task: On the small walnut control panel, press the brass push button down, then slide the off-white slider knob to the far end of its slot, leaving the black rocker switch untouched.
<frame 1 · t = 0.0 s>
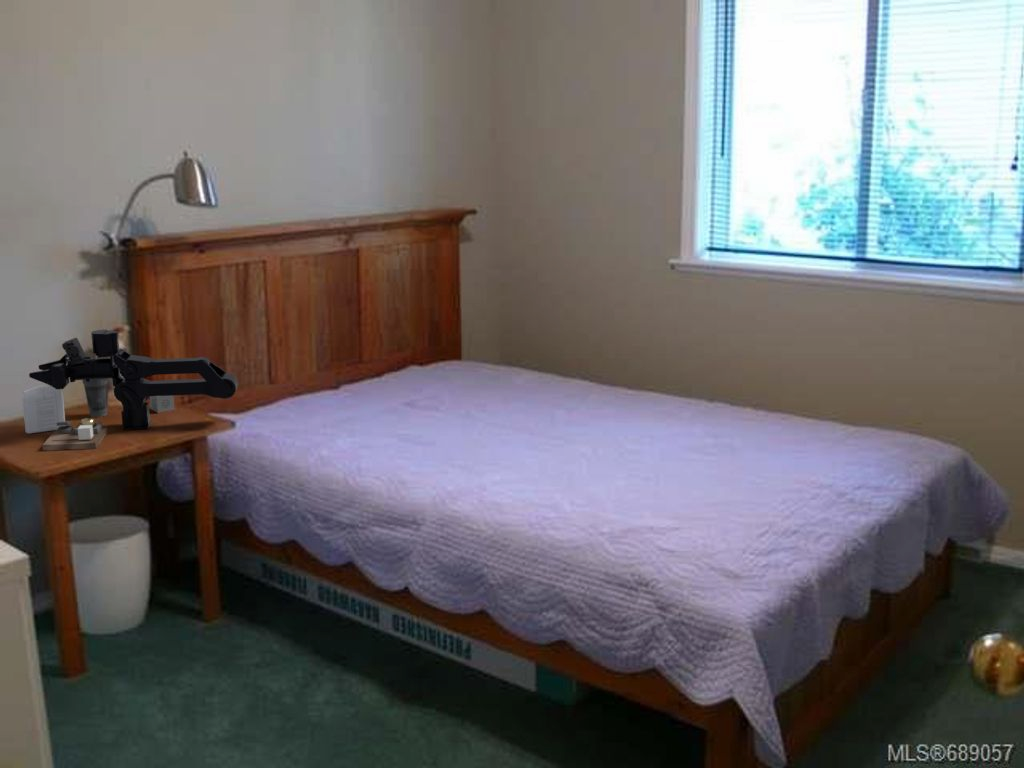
hand: (34, 371, 295), 17 cm above the nightstand, tool horizontal, fingers open, 9 cm apart
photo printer: (46, 430, 299), on the nightstand
brass button: (88, 423, 292), point 4 cm above the nightstand, slide at 0.0 cm
rocker switch: (64, 423, 292), point 4 cm above the nightstand, hinge at 12.0°
dice cube: (162, 411, 319), on the nightstand
control panel: (75, 441, 289), on the nightstand
beverage cup: (98, 416, 313), on the nightstand
slider knob: (85, 432, 285), point 3 cm above the nightstand, slide at 0.0 cm
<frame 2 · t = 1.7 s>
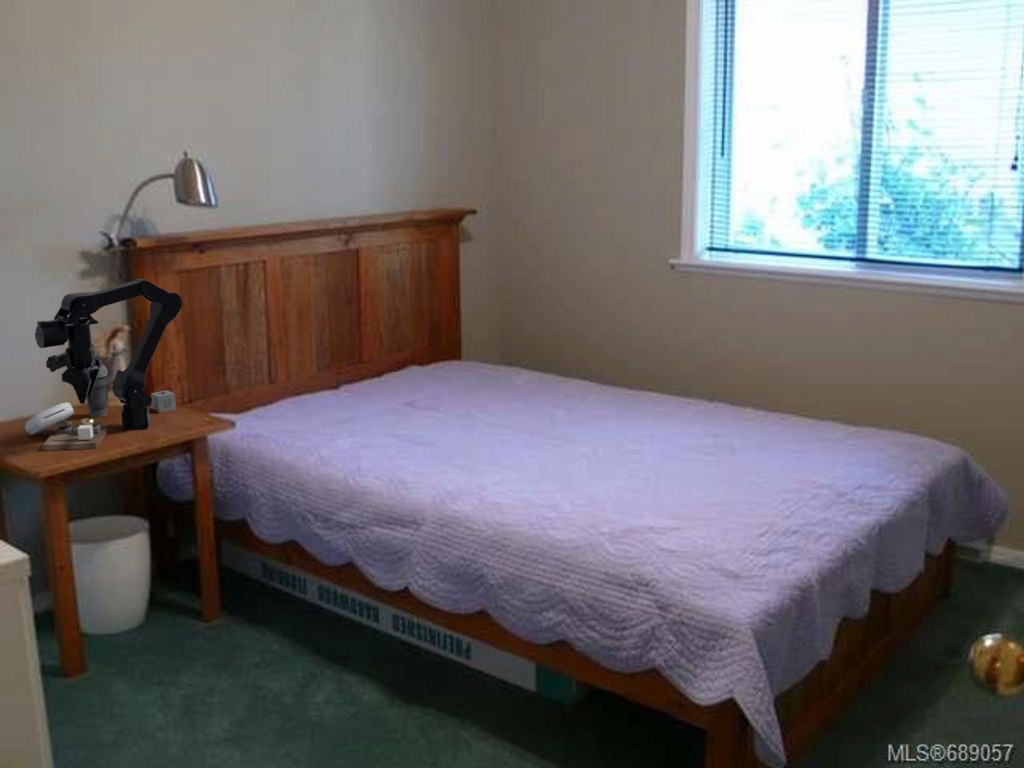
hand: (85, 400, 291), 10 cm above the nightstand, tool pointing down, fingers open, 6 cm apart
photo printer: (43, 422, 298), point 2 cm above the nightstand, touching rocker switch
rocker switch: (64, 423, 292), point 4 cm above the nightstand, hinge at 12.2°, touching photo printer
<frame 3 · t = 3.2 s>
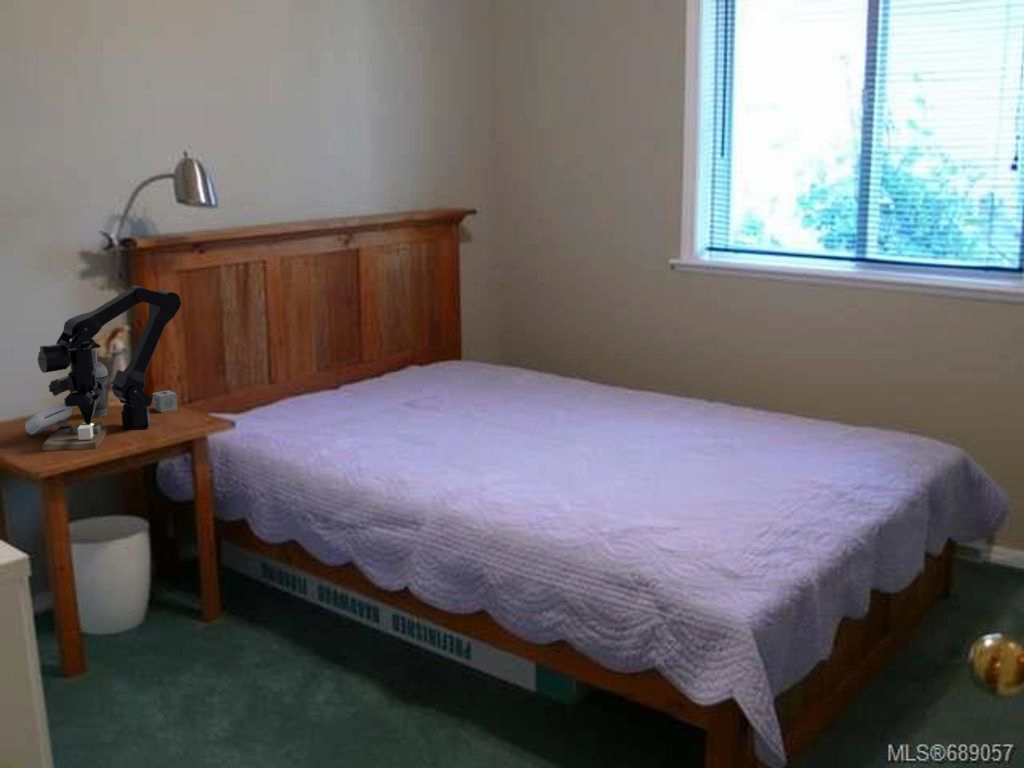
hand: (88, 423, 292), 4 cm above the nightstand, tool pointing down, fingers closed, pressing on brass button
brass button: (88, 426, 293), point 3 cm above the nightstand, slide at 1.0 cm, touching gripper
rocker switch: (64, 423, 292), point 4 cm above the nightstand, hinge at 12.7°, touching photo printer
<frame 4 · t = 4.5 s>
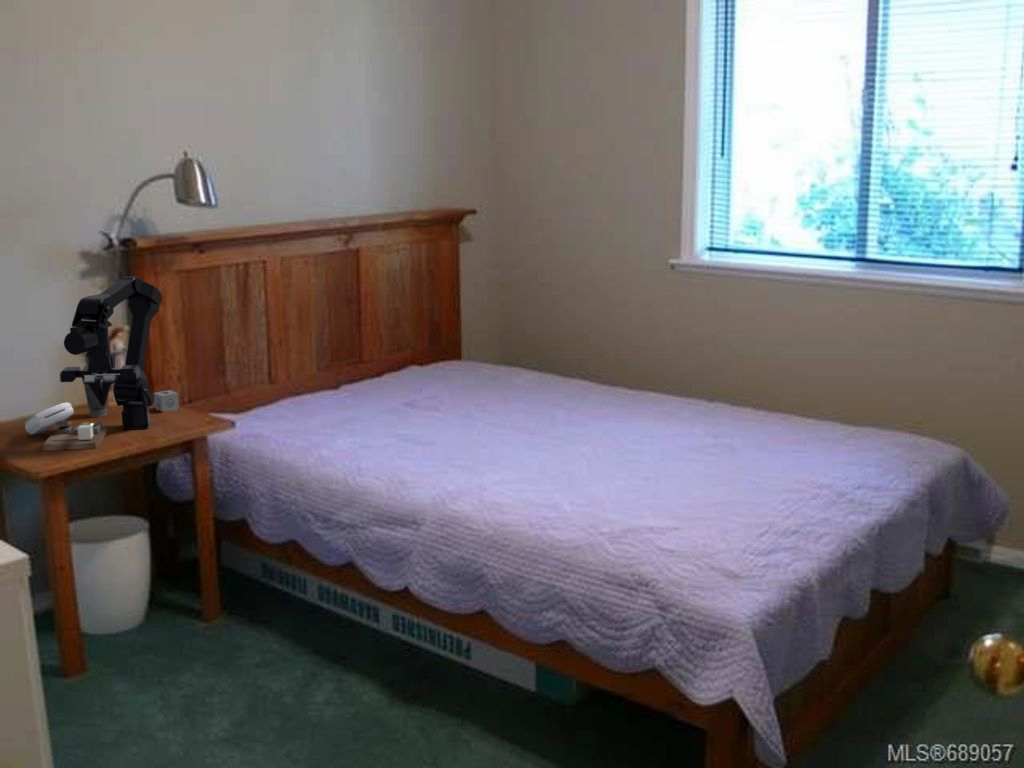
hand: (103, 405, 285), 10 cm above the nightstand, tool pointing down, fingers closed
brass button: (88, 426, 293), point 3 cm above the nightstand, slide at 1.0 cm
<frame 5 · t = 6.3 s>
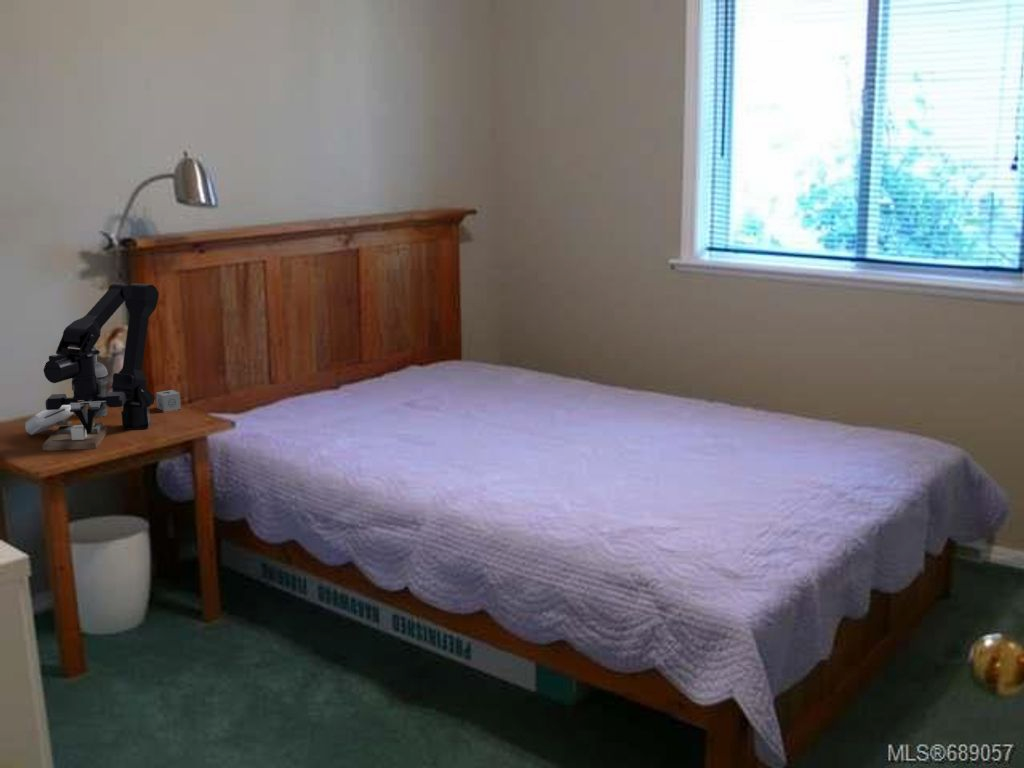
hand: (89, 432, 286), 3 cm above the nightstand, tool pointing down, fingers closed
slider knob: (78, 432, 285), point 3 cm above the nightstand, slide at 1.7 cm, touching gripper
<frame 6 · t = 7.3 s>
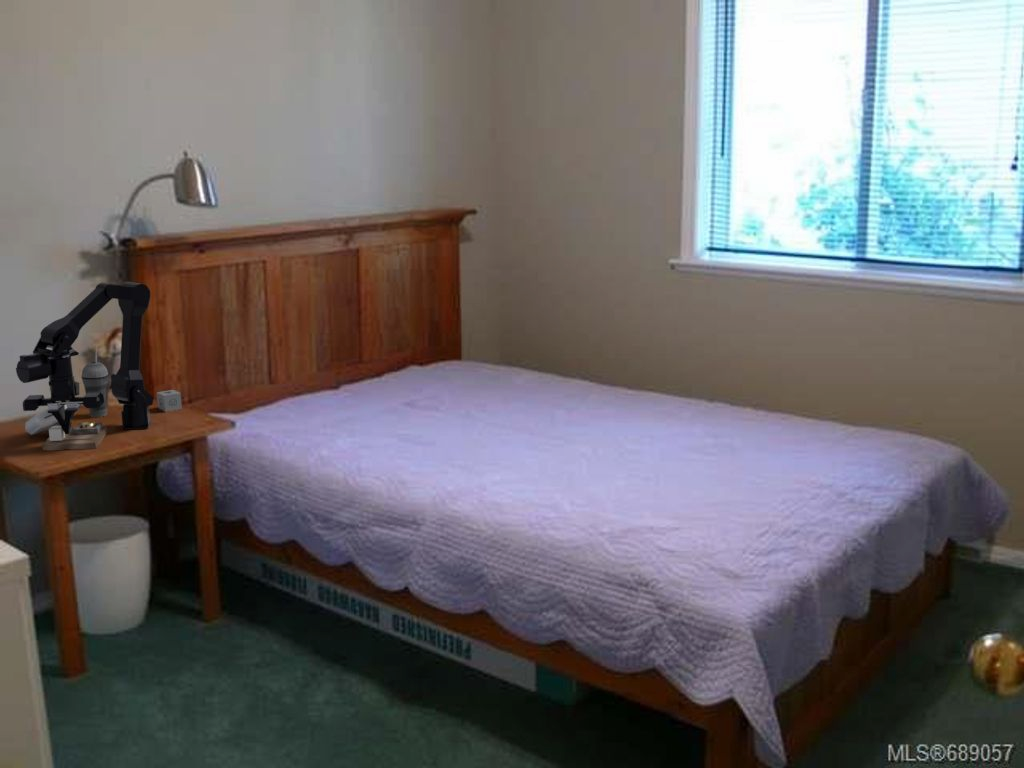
hand: (67, 433, 285), 3 cm above the nightstand, tool pointing down, fingers closed
slider knob: (56, 433, 285), point 3 cm above the nightstand, slide at 7.1 cm, touching gripper
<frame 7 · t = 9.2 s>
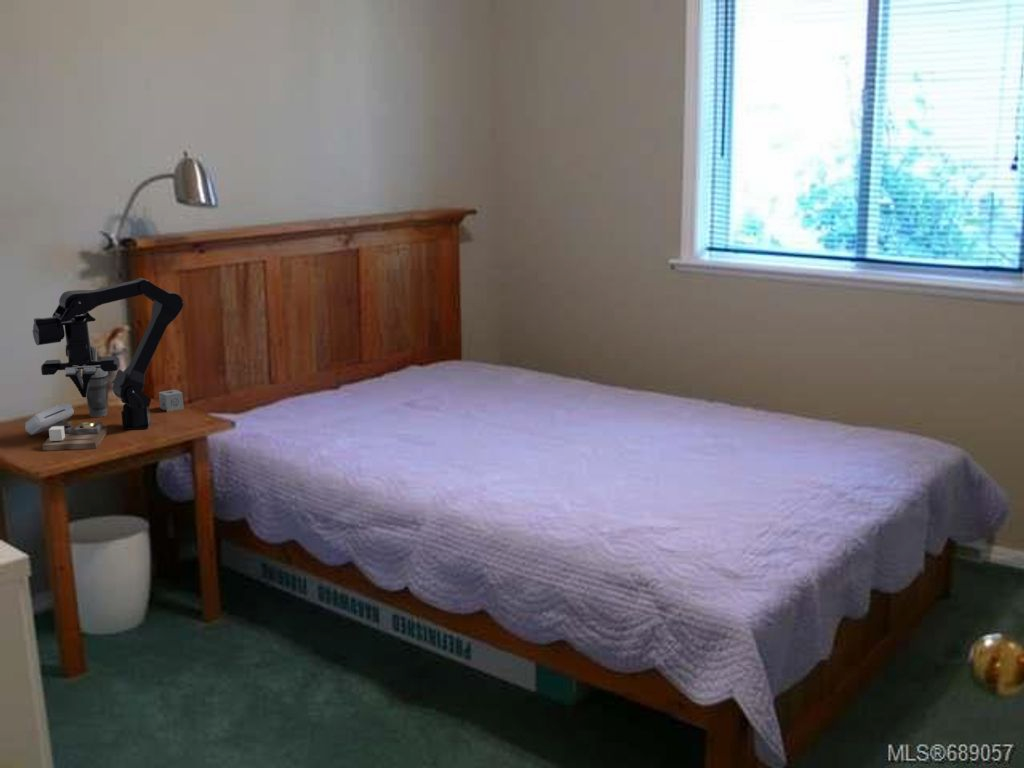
hand: (84, 397, 292), 11 cm above the nightstand, tool pointing down, fingers closed
slider knob: (57, 433, 285), point 3 cm above the nightstand, slide at 7.1 cm
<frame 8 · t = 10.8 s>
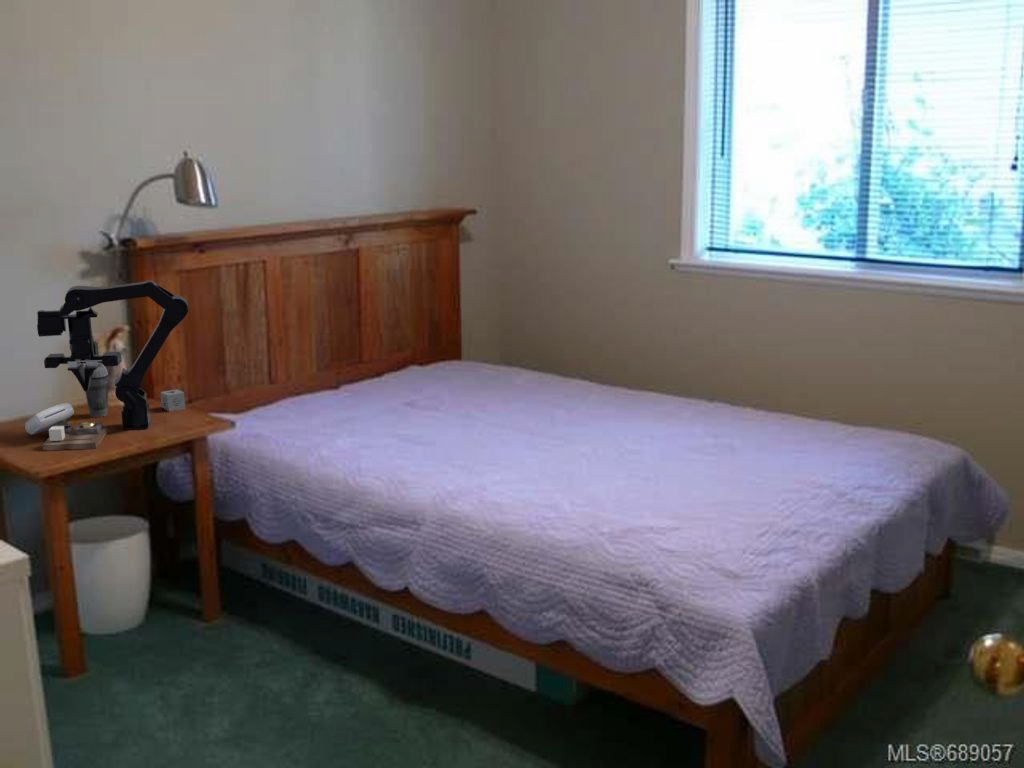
hand: (86, 391, 296), 11 cm above the nightstand, tool pointing down, fingers closed
at the end: brass button slide at 1.0 cm; slider knob slide at 7.1 cm; rocker switch at +13° (first picture: +12°) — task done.
